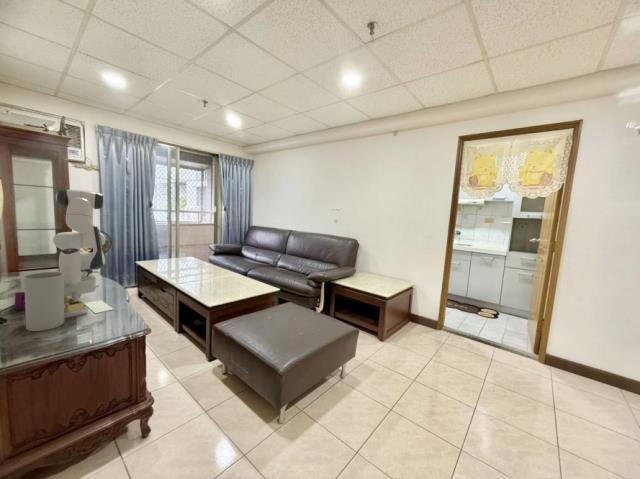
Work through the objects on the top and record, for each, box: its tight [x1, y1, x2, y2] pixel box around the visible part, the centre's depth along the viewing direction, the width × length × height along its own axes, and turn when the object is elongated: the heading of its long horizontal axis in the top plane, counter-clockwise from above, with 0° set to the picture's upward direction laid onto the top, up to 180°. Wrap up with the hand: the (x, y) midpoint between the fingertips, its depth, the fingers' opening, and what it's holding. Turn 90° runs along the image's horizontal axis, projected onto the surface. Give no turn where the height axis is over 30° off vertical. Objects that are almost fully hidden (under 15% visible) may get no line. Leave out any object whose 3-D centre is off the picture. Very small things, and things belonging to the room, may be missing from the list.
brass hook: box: [65, 296, 84, 311], centre depth 139 cm, size 16×6×6 cm, turn 56°
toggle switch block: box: [64, 292, 89, 319], centre depth 139 cm, size 18×9×12 cm, turn 56°
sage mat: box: [83, 299, 114, 315], centre depth 148 cm, size 20×8×1 cm, turn 56°
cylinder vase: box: [23, 271, 65, 332], centre depth 121 cm, size 12×12×25 cm
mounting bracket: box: [14, 291, 25, 311], centre depth 143 cm, size 9×8×18 cm
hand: (71, 303), depth 140 cm, fingers closed on brass hook, 3 cm apart
